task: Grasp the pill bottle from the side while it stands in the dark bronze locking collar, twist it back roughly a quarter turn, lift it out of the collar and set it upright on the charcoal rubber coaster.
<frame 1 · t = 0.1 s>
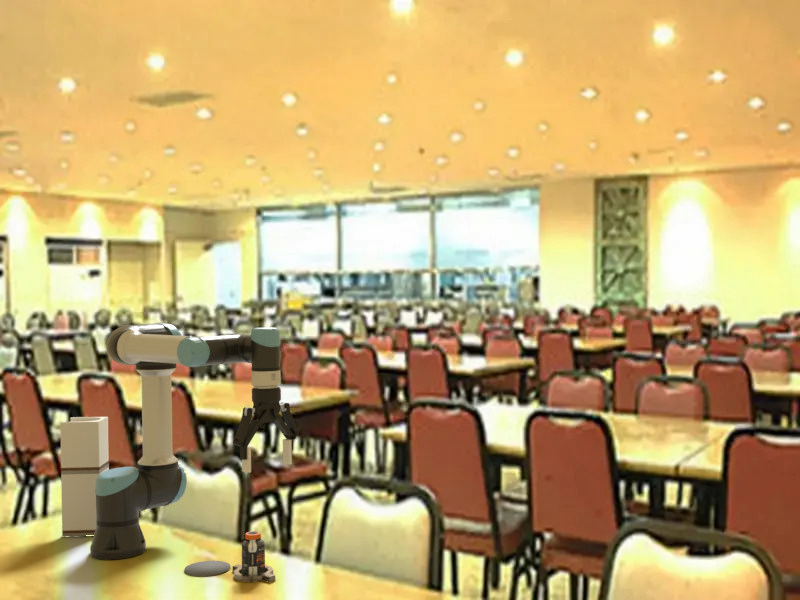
hand: (267, 467, 237), 28 cm above the table, tool pointing down, fingers open, 13 cm apart
coaster: (207, 569, 242), on the table
collar: (253, 575, 236), on the table
pill bottle: (253, 576, 236), resting in collar
beige tall box: (86, 532, 281), on the table
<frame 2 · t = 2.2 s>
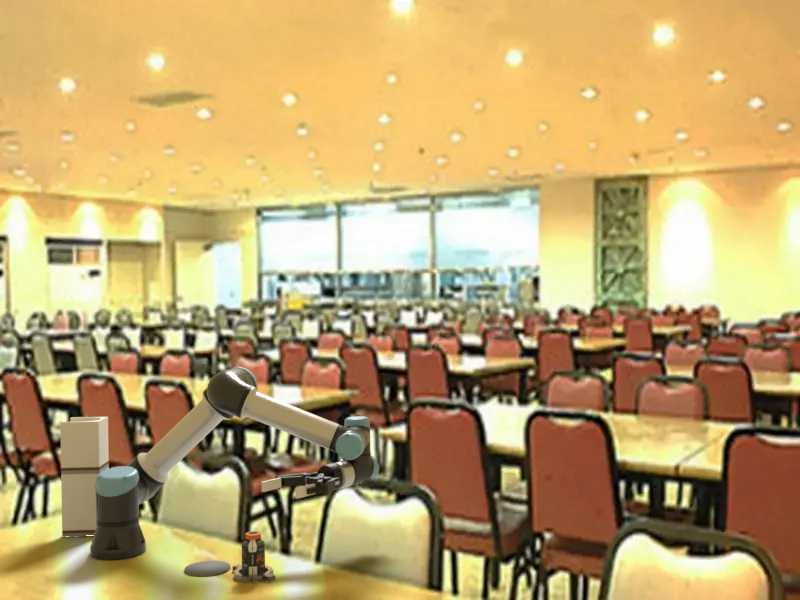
hand: (278, 490, 242), 21 cm above the table, tool horizontal, fingers open, 13 cm apart
nothing on the table moved.
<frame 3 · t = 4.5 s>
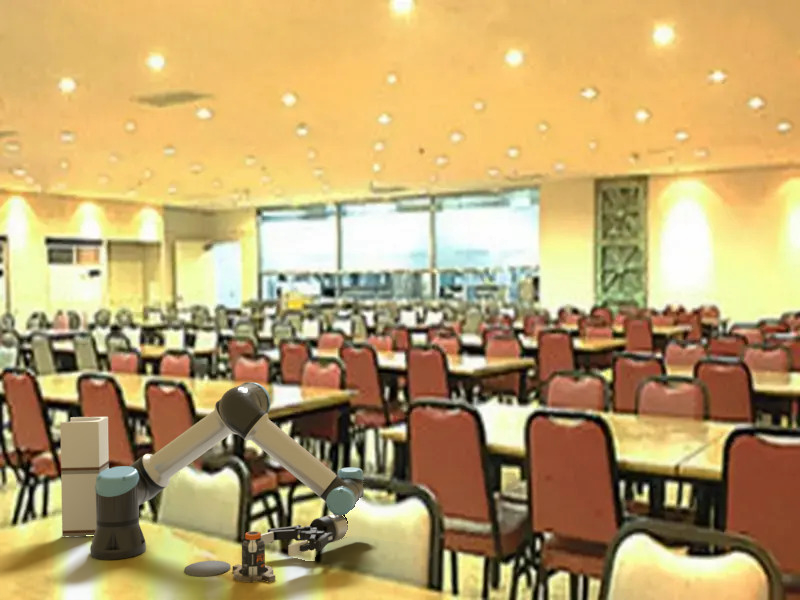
hand: (271, 546, 240), 6 cm above the table, tool horizontal, fingers open, 13 cm apart
nothing on the table moved.
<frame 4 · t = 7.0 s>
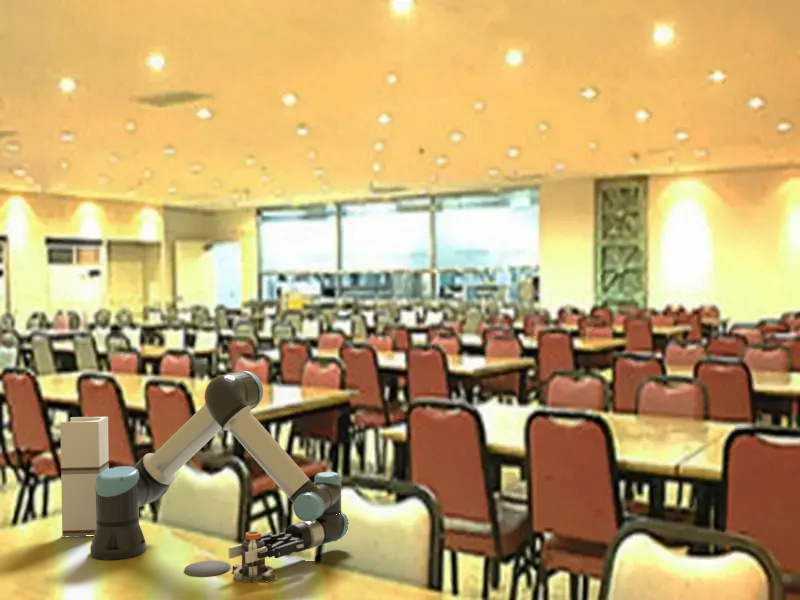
hand: (237, 555, 232), 7 cm above the table, tool horizontal, fingers closed on pill bottle, 6 cm apart
pill bottle: (253, 576, 236), resting in collar, touching gripper
everything else where it was.
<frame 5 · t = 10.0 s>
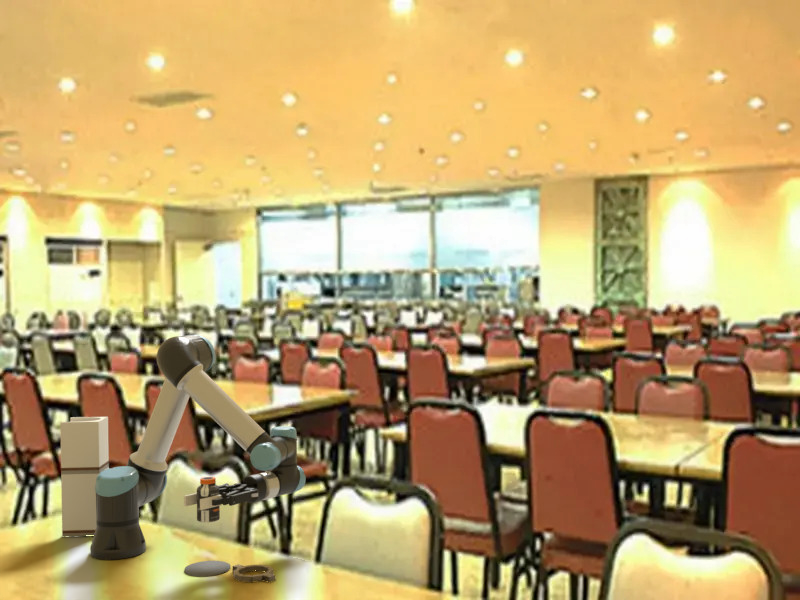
hand: (192, 502, 237), 19 cm above the table, tool horizontal, fingers closed on pill bottle, 6 cm apart
pill bottle: (208, 520, 241), point 13 cm above the table, touching gripper
everything else where it was.
when the fingers open (8 cm above the table, at t = 12.5 s): pill bottle drops 2 cm, resting on coaster.
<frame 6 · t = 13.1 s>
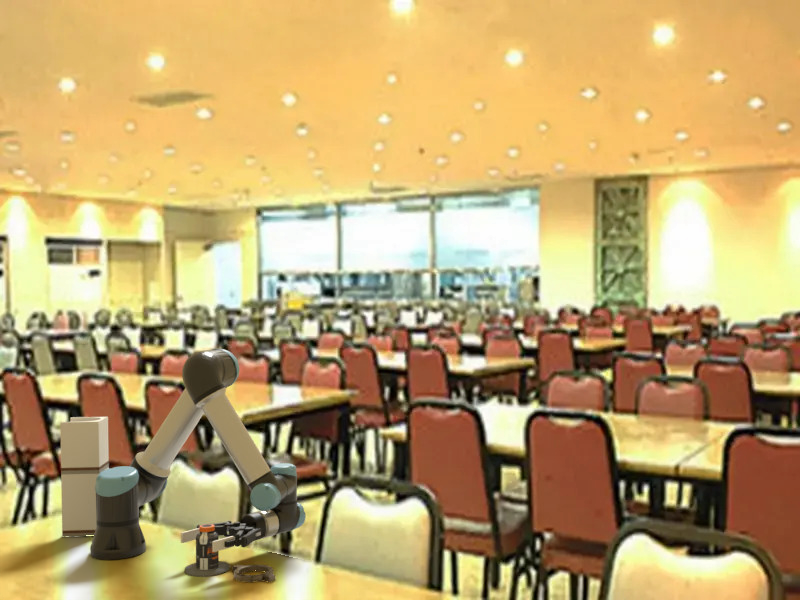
hand: (196, 542, 239), 8 cm above the table, tool horizontal, fingers open, 13 cm apart
pill bottle: (207, 568, 242), resting on coaster
everything else where it was.
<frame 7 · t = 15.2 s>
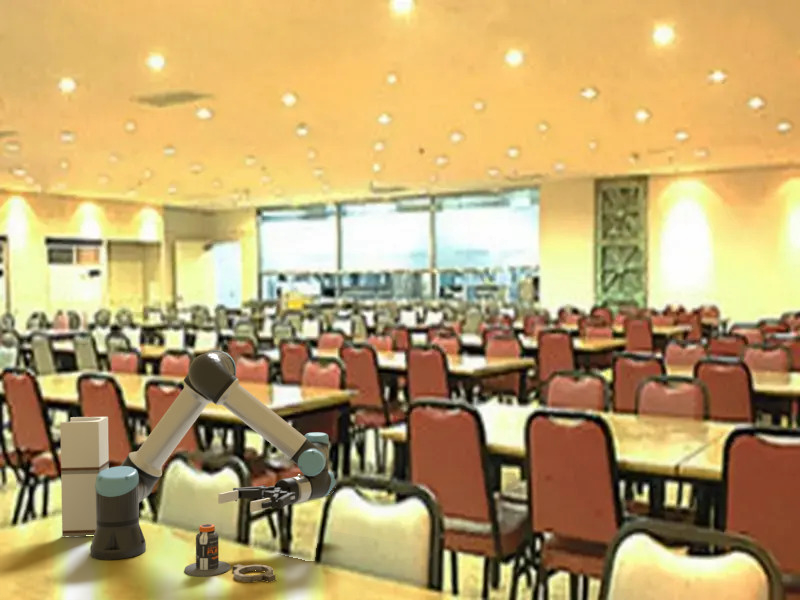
hand: (234, 502, 249), 16 cm above the table, tool horizontal, fingers open, 13 cm apart
nothing on the table moved.
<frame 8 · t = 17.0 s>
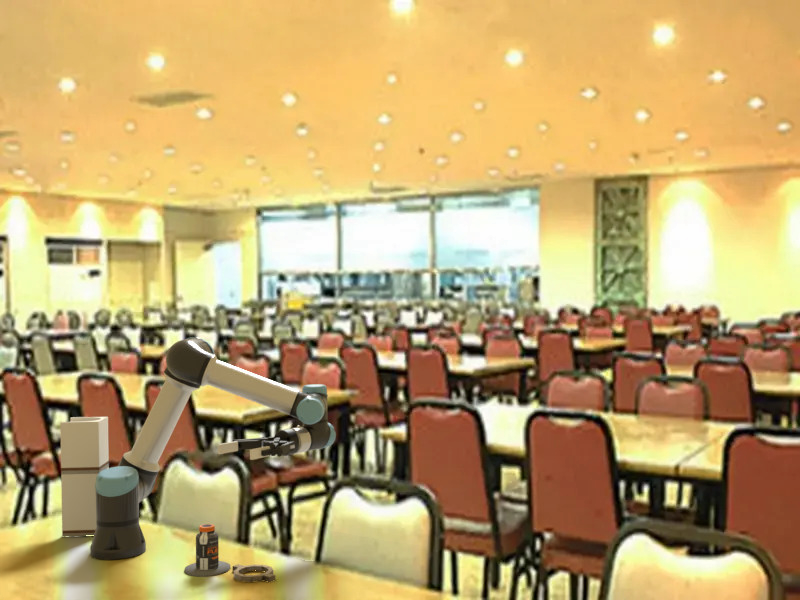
hand: (234, 451, 249), 30 cm above the table, tool horizontal, fingers open, 13 cm apart
nothing on the table moved.
at the end: pill bottle inside the target area on the coaster (0.1 cm from its centre), point 0.3 cm above the coaster's base; pill bottle tilted 0°; the gripper is holding nothing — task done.
